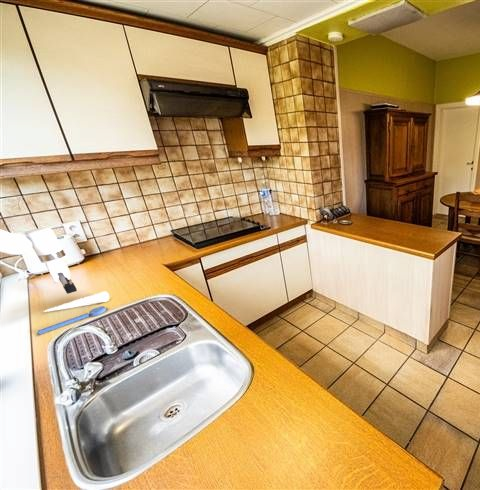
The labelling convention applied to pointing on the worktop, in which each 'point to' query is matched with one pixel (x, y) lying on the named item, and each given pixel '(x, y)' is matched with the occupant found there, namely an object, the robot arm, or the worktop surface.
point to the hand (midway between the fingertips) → (72, 291)
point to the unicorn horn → (83, 301)
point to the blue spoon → (74, 319)
